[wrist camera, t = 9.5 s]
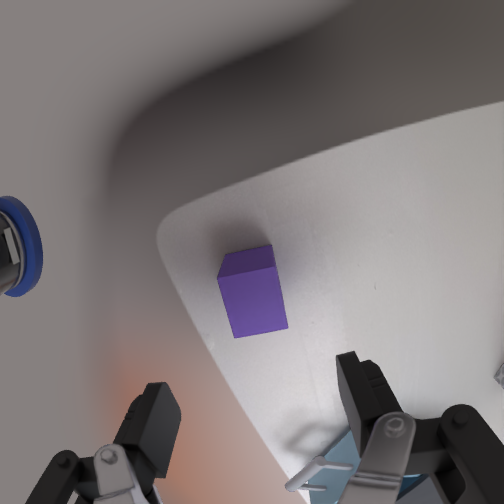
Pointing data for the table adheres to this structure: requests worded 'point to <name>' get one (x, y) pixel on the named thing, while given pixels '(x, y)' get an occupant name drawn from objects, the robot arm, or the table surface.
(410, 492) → the cabinet
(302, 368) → the table surface
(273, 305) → the block
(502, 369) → the box
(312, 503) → the drawer
